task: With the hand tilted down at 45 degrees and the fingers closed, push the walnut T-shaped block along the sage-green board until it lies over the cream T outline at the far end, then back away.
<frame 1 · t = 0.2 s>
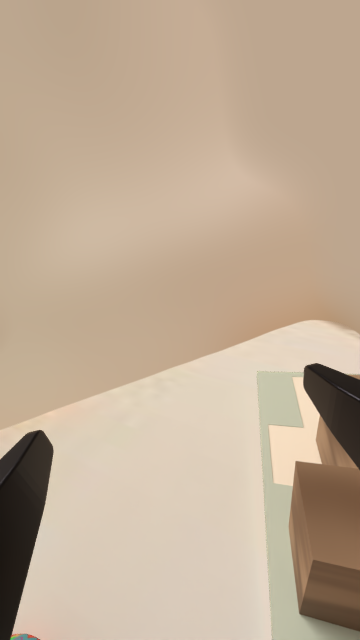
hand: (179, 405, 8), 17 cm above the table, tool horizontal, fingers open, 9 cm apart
board: (341, 465, 20), on the table
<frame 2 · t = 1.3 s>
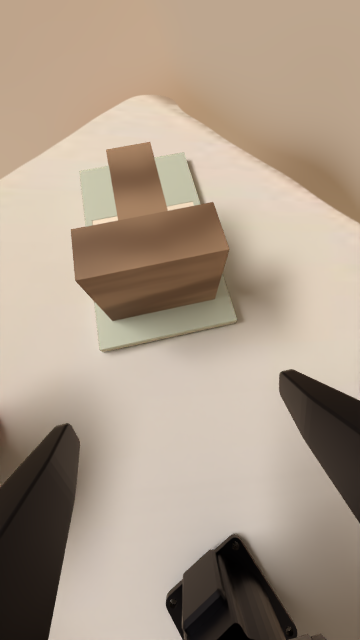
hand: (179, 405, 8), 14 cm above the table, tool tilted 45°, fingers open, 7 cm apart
t block: (153, 261, 24), point 1 cm above the table, touching board
board: (148, 236, 27), on the table
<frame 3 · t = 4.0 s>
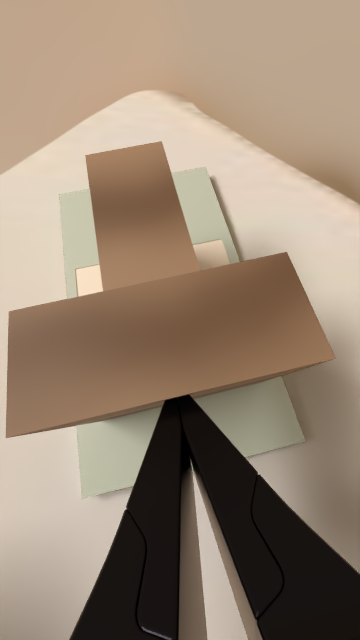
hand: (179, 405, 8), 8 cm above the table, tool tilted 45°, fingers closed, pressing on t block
t block: (164, 319, 16), point 1 cm above the table, touching board, gripper
board: (157, 290, 18), on the table
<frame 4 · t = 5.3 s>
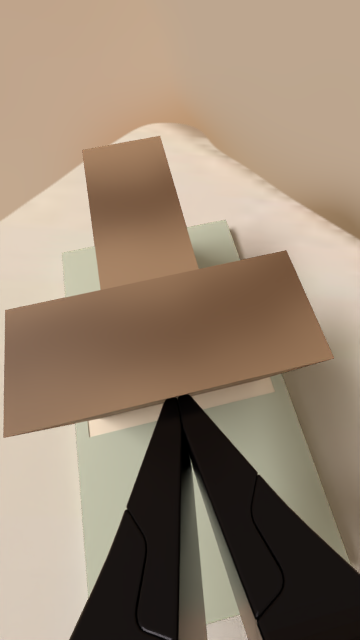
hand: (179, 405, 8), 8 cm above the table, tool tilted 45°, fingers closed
t block: (162, 316, 16), point 1 cm above the table
board: (175, 370, 16), on the table
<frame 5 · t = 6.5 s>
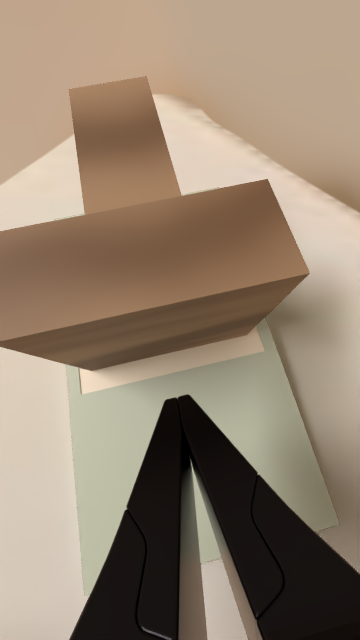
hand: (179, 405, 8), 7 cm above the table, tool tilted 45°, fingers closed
t block: (153, 276, 17), point 1 cm above the table, touching board
board: (166, 333, 16), on the table
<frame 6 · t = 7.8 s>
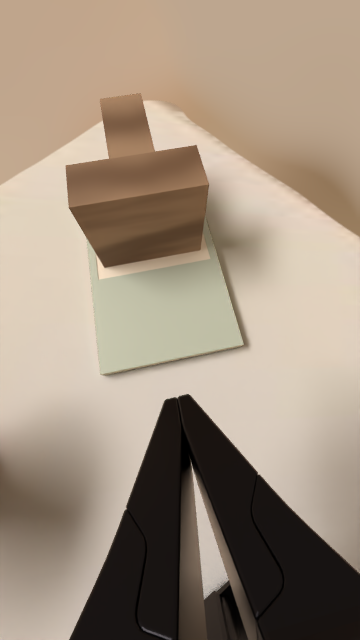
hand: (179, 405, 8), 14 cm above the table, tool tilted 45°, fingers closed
t block: (144, 216, 26), point 1 cm above the table, touching board
board: (151, 252, 26), on the table
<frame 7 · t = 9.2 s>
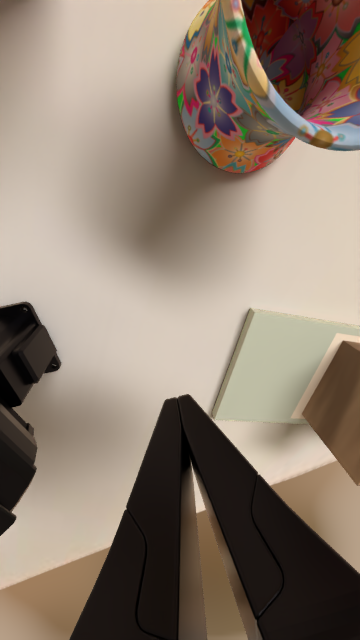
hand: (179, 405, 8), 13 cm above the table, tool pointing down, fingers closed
board: (325, 375, 27), on the table
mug: (253, 77, 15), on the table
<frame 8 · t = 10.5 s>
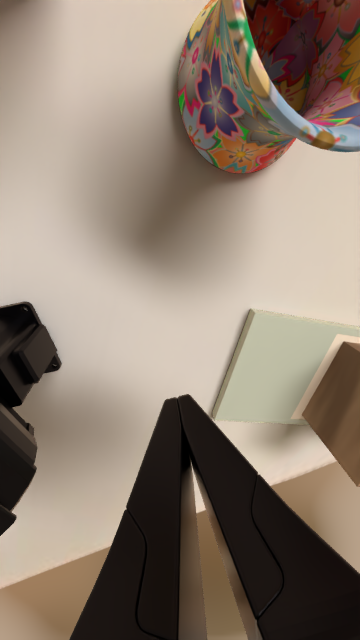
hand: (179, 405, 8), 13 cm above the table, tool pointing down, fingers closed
board: (326, 376, 27), on the table
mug: (254, 77, 15), on the table
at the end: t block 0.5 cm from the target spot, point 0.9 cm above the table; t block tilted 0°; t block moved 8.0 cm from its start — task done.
